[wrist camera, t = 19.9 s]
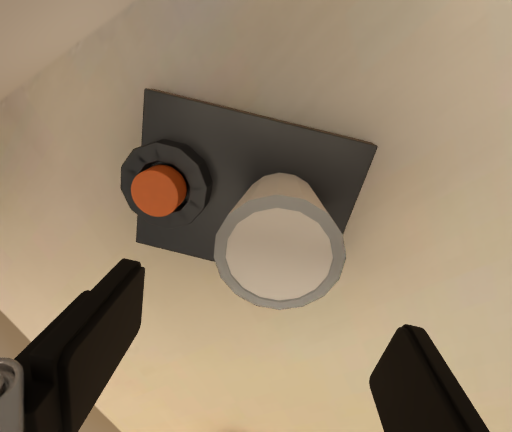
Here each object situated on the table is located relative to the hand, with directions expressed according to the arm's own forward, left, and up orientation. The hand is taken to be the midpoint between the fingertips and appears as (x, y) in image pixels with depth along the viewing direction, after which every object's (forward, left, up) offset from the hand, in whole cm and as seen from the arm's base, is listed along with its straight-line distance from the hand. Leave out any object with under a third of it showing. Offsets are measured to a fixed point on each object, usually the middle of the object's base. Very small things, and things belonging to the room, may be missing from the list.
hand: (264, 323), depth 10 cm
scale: (-2, 0, -13) cm, 13 cm away
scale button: (-8, 0, -10) cm, 13 cm away
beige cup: (0, 0, -12) cm, 12 cm away
